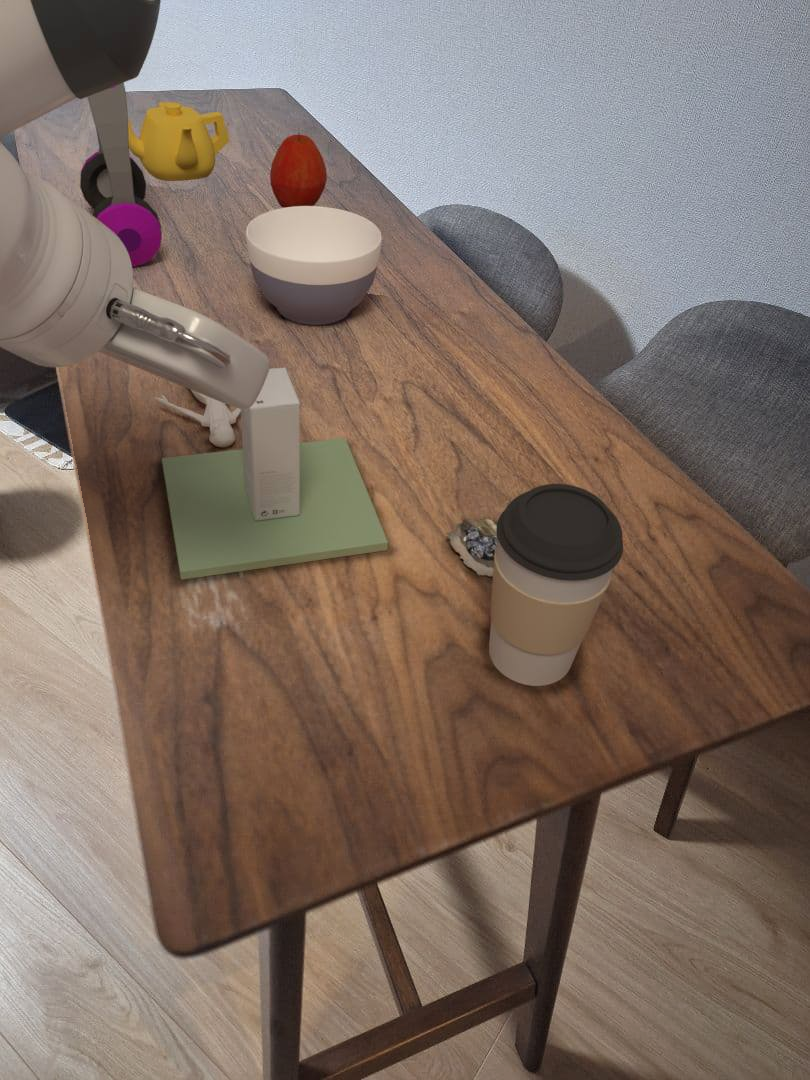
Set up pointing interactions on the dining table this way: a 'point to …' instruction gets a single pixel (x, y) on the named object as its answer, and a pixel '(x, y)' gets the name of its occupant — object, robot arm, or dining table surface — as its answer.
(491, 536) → the blueberries
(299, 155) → the apple
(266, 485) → the cosmetic box
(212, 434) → the woman figurine
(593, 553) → the coffee cup
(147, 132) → the teapot
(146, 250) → the headphones
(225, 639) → the dining table surface
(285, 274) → the bowl
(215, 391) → the robot arm
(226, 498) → the mat
